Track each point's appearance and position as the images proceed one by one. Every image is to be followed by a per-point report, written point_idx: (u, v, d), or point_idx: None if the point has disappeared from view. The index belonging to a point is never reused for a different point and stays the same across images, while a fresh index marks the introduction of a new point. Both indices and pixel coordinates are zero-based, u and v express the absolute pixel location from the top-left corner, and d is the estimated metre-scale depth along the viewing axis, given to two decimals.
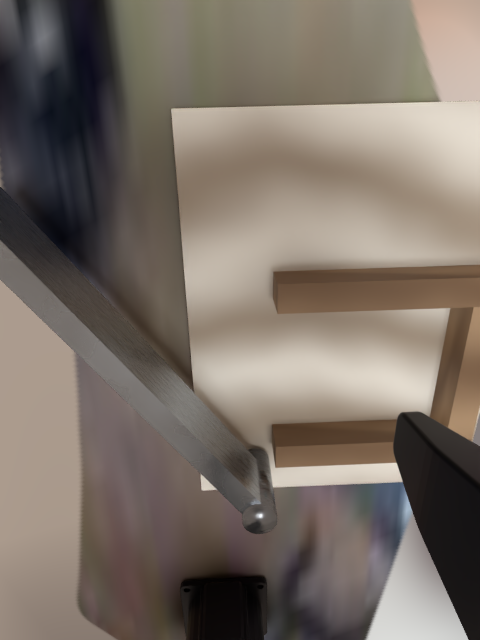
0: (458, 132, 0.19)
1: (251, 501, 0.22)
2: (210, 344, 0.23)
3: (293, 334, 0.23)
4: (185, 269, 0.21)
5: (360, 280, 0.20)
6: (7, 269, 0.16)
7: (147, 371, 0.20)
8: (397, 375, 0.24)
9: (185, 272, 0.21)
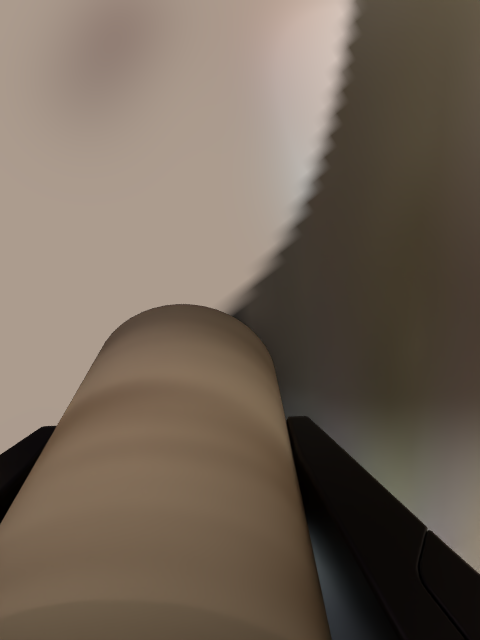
0: None
1: None
2: None
3: None
4: None
5: None
6: None
7: None
8: None
9: None
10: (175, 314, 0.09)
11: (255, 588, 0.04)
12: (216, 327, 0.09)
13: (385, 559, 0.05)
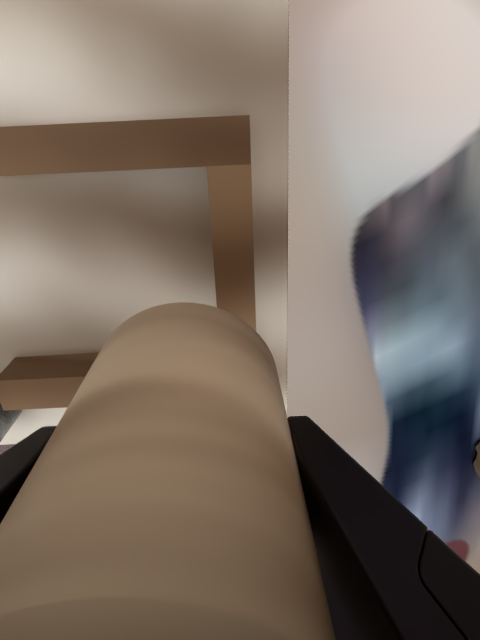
0: None
1: None
2: None
3: (4, 227, 0.17)
4: None
5: (32, 125, 0.14)
6: None
7: None
8: (163, 286, 0.18)
9: None
10: (176, 312, 0.09)
11: (258, 586, 0.04)
12: (218, 325, 0.09)
13: (385, 559, 0.05)
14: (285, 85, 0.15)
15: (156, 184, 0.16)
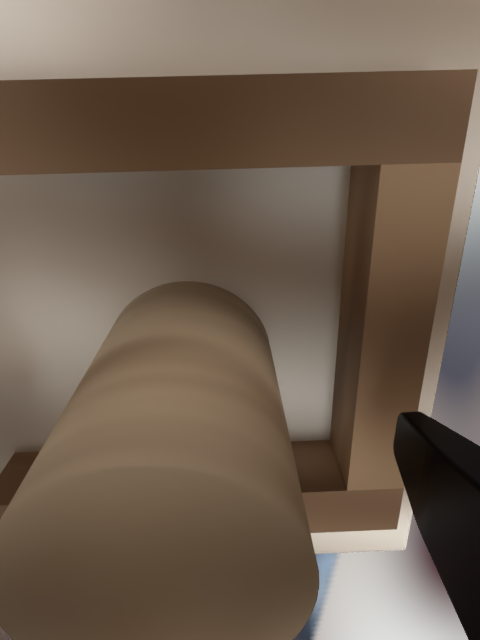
0: None
1: None
2: None
3: (2, 259, 0.10)
4: None
5: (64, 80, 0.07)
6: None
7: None
8: None
9: None
10: (181, 288, 0.10)
11: (247, 469, 0.05)
12: (217, 299, 0.10)
13: None
14: None
15: (259, 194, 0.10)
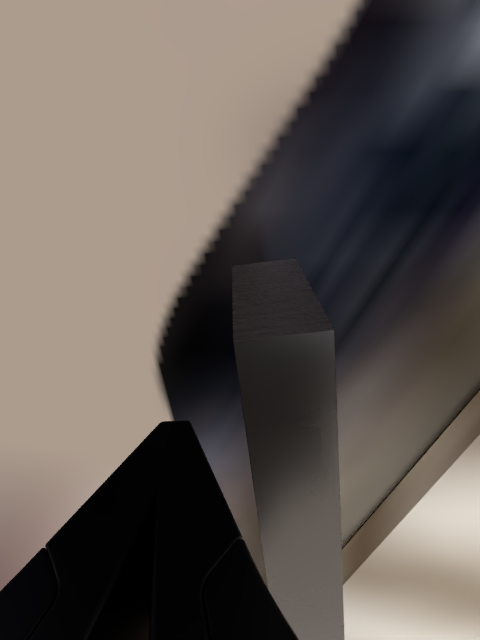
0: None
1: None
2: (373, 592, 0.14)
3: None
4: (428, 493, 0.12)
5: None
6: (294, 513, 0.06)
7: None
8: None
9: (425, 497, 0.12)
10: None
11: None
12: None
13: (178, 569, 0.05)
14: None
15: None
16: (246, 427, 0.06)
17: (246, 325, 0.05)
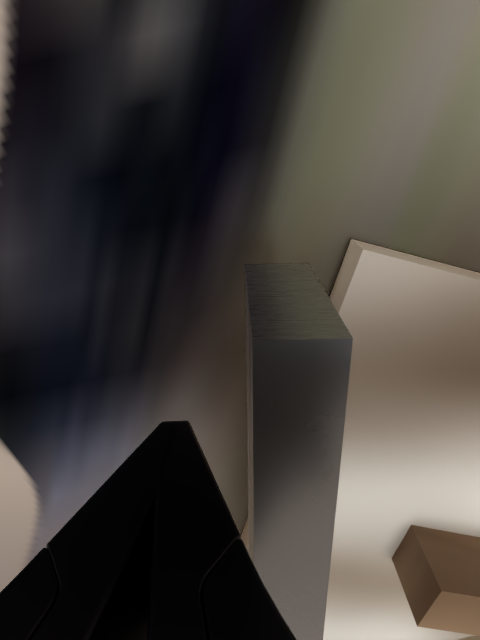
0: None
1: None
2: None
3: (397, 605, 0.14)
4: None
5: None
6: (290, 515, 0.06)
7: None
8: None
9: None
10: None
11: None
12: None
13: (176, 569, 0.05)
14: None
15: None
16: (254, 426, 0.06)
17: (264, 325, 0.05)
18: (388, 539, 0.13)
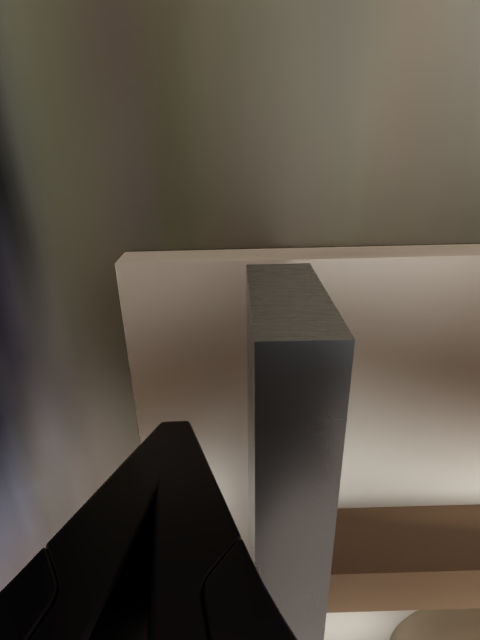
0: None
1: None
2: None
3: None
4: None
5: (470, 562, 0.11)
6: (291, 516, 0.06)
7: None
8: None
9: None
10: (471, 615, 0.14)
11: None
12: None
13: (177, 569, 0.05)
14: None
15: None
16: (256, 427, 0.06)
17: (265, 325, 0.05)
18: None
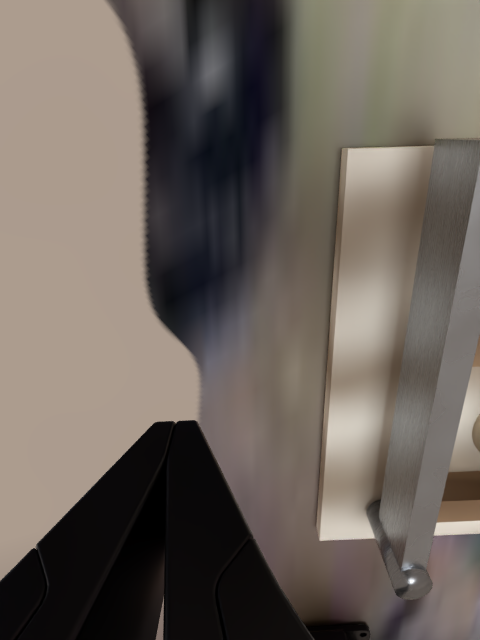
0: None
1: (420, 565, 0.20)
2: (351, 393, 0.21)
3: None
4: (337, 316, 0.20)
5: None
6: None
7: None
8: None
9: (337, 319, 0.20)
10: None
11: None
12: None
13: (190, 568, 0.05)
14: None
15: None
16: (476, 183, 0.13)
17: None
18: None
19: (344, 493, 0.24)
